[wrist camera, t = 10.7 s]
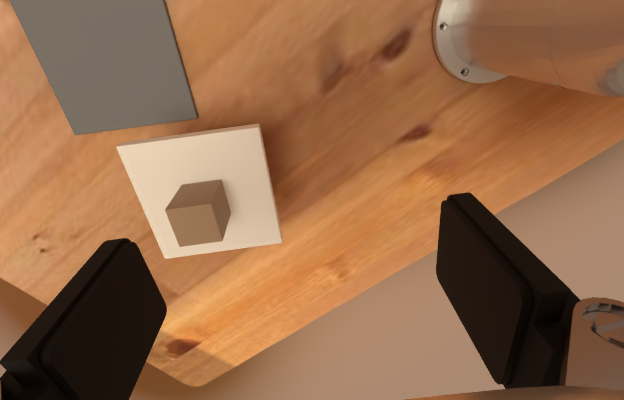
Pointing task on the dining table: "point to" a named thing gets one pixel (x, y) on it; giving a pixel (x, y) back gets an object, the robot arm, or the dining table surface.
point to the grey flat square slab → (109, 61)
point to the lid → (205, 190)
